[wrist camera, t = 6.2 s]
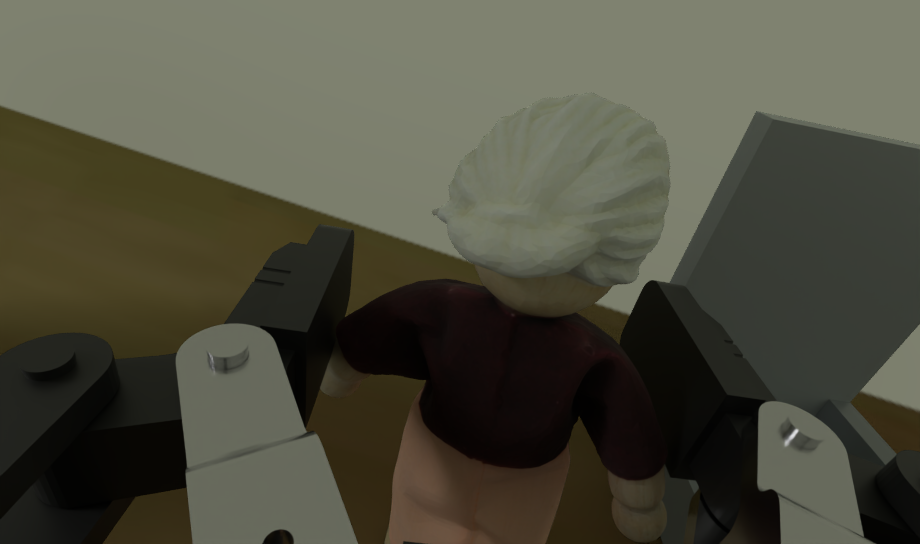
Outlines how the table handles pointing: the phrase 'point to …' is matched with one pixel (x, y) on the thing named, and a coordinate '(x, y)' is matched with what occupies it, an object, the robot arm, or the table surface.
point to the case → (809, 271)
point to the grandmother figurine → (523, 332)
